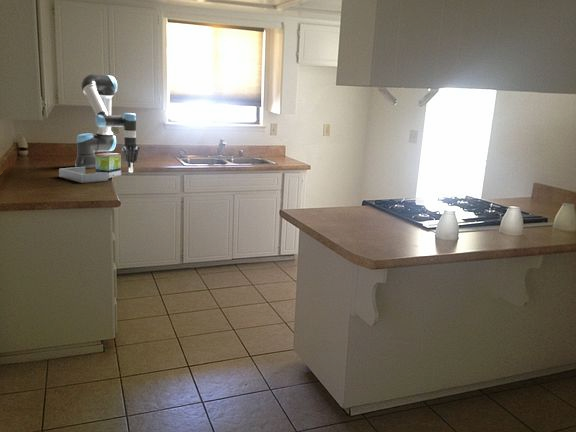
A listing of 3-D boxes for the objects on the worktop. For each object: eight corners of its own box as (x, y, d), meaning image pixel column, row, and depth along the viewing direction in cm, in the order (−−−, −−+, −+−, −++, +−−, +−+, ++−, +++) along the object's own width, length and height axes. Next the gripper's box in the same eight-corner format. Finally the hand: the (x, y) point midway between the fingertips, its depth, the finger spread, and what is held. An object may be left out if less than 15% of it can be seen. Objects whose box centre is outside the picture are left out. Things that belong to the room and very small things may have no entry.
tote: (84, 174, 343) (84, 166, 342) (108, 180, 324) (107, 172, 323) (59, 176, 330) (58, 168, 329) (82, 183, 312) (82, 174, 311)
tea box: (109, 178, 332) (109, 155, 329) (95, 177, 334) (94, 154, 331) (121, 175, 346) (121, 153, 343) (107, 174, 348) (107, 152, 345)
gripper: (135, 136, 354) (136, 170, 359) (118, 136, 344) (119, 172, 350) (142, 137, 349) (142, 172, 354) (124, 137, 340) (125, 173, 345)
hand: (130, 172), depth 352 cm, fingers closed
